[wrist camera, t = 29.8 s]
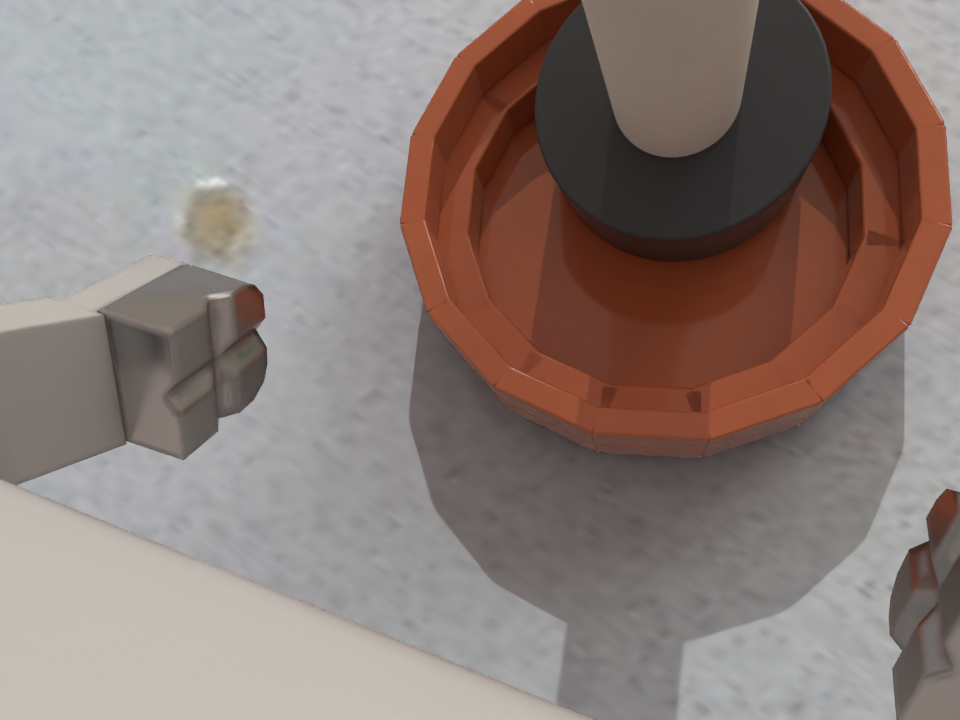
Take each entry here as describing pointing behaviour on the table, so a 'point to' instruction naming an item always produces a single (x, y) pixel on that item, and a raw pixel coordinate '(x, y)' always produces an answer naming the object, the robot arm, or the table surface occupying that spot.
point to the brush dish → (664, 284)
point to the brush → (682, 118)
